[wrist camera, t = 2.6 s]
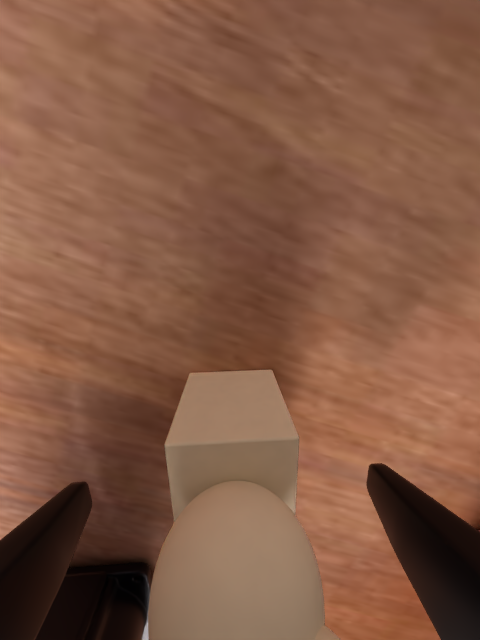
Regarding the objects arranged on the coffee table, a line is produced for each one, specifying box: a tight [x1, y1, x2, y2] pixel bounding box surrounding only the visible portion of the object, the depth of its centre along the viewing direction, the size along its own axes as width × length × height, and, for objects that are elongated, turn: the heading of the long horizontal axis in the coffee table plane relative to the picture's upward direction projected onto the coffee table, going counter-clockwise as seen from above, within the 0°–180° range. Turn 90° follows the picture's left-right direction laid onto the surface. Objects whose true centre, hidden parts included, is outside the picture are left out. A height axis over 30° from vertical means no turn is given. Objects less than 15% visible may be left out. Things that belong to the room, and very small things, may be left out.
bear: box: [148, 369, 340, 640], centre depth 7 cm, size 4×4×8 cm
